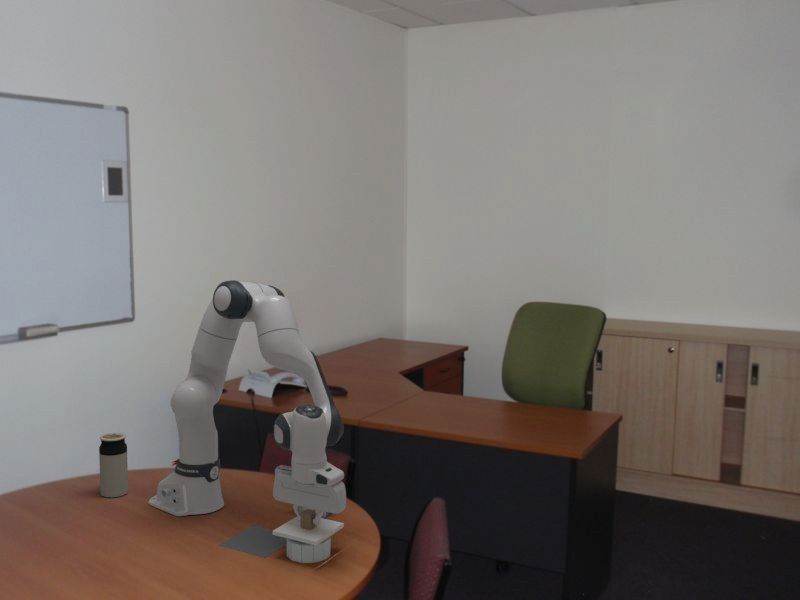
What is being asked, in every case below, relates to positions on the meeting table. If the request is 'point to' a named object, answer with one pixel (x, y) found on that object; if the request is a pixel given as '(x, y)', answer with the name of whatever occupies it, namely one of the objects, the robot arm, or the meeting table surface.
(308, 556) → the bowl
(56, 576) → the meeting table surface
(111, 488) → the travel mug
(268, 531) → the mat
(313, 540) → the lid
